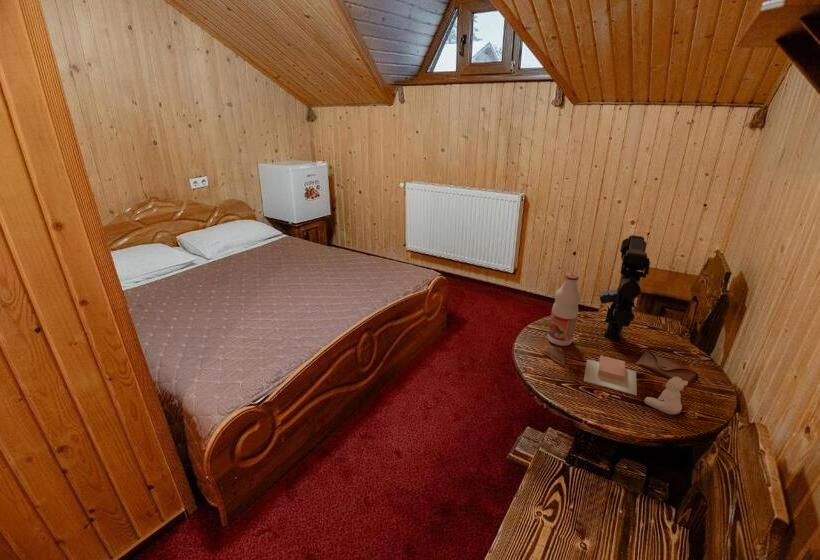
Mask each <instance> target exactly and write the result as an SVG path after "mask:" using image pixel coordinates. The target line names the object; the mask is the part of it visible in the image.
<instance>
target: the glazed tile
mask: <svg viewBox="0 0 820 560" xmlns="http://www.w3.org/2000/svg"><path fill="white" fill-rule="evenodd" d="M598 362H599V366H598V375H597V376H599V377H603V378H607V379H611V380H614V381H618V382H622V383H623V382H624V378H625V369H626V361H625V360H620V359H618V358H613V357H609V356H604V355H602V354H601V355H600V356H599V360H598Z"/></svg>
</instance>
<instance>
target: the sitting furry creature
mask: <svg viewBox="0 0 820 560" xmlns="http://www.w3.org/2000/svg"><path fill="white" fill-rule="evenodd" d="M687 384H688V381H683V380H682V379H681V378H679V377H673V378H672V379H668V381H667V382H666V383H665V389H663V391H661V392H662V393H660V394H659V396H658V397H657V398H656V397H652V396H646V397H645V398H644V403H645V404H646V405H647V406H649V407H652V408H654V409H656V410H658V411H660V412H663V413H665V414H667V415H672V416H673V415H678V414H681V412H682V409H683V405H682V401H681V399H682V395H681V391H683V389H684V386H685V385H687Z"/></svg>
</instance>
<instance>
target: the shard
mask: <svg viewBox="0 0 820 560" xmlns="http://www.w3.org/2000/svg"><path fill="white" fill-rule="evenodd" d="M542 354H543V355H545V356H547V357H549V358H550V359H551V360H553V361H554V362H556V363H557V364H558V365H561V366H563V367H565V366H566V365H565V353H564V349H562V348H560V347H557V346H552V345H544V349H543V351H542Z"/></svg>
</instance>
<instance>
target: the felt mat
mask: <svg viewBox="0 0 820 560" xmlns="http://www.w3.org/2000/svg"><path fill="white" fill-rule="evenodd" d="M598 366H599V361H595V360H592V359H588V358H587V359H586V363H585V369H584V376H583V382H584V383H589V384H592V385H596V386H598V387H599V386H600V387H604V388H606V389H610V390H613V391H617V392H621V393H625V394H629V395H632V396H636V397H637V394H638V393H637V391H638V389H637V388H638V387H637V371H634V370H631V369H627V368H625V378H624V382H623V383H622V382H618V381H614V380H611V379H607V378H603V377H599V376H597V375H598Z"/></svg>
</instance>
